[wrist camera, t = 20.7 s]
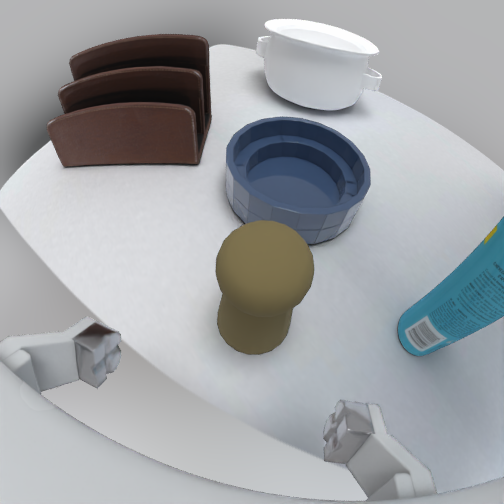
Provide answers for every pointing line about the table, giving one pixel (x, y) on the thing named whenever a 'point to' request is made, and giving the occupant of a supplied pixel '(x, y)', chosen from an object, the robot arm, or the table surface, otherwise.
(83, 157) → the letter holder
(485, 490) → the robot arm
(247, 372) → the table surface
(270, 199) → the bowl
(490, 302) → the tube
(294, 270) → the cork
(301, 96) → the pot
